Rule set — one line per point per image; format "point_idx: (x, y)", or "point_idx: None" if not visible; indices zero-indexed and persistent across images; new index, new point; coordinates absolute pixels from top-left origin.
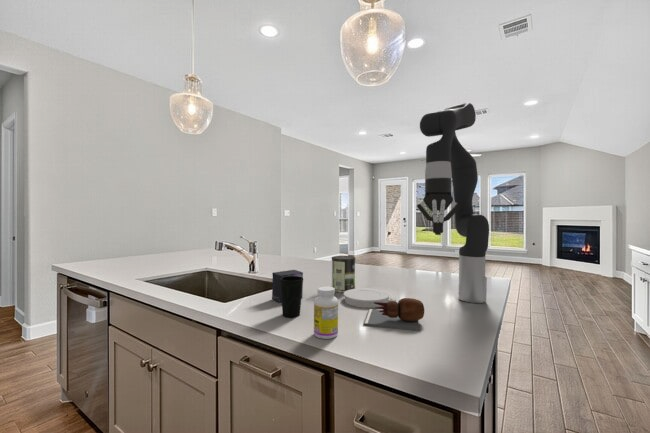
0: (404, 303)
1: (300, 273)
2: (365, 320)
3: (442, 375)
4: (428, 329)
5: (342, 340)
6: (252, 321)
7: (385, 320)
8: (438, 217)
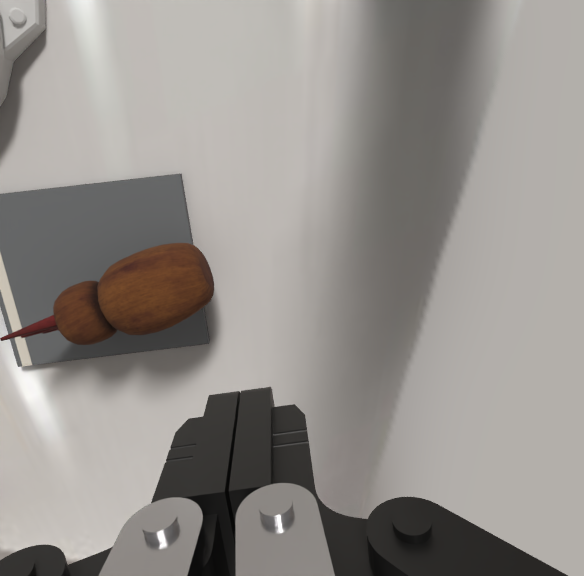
0: (130, 333)
1: None
2: (13, 338)
3: None
4: (237, 317)
5: (14, 490)
6: None
7: None
8: (236, 569)
